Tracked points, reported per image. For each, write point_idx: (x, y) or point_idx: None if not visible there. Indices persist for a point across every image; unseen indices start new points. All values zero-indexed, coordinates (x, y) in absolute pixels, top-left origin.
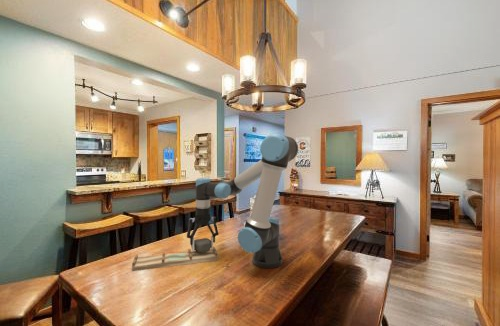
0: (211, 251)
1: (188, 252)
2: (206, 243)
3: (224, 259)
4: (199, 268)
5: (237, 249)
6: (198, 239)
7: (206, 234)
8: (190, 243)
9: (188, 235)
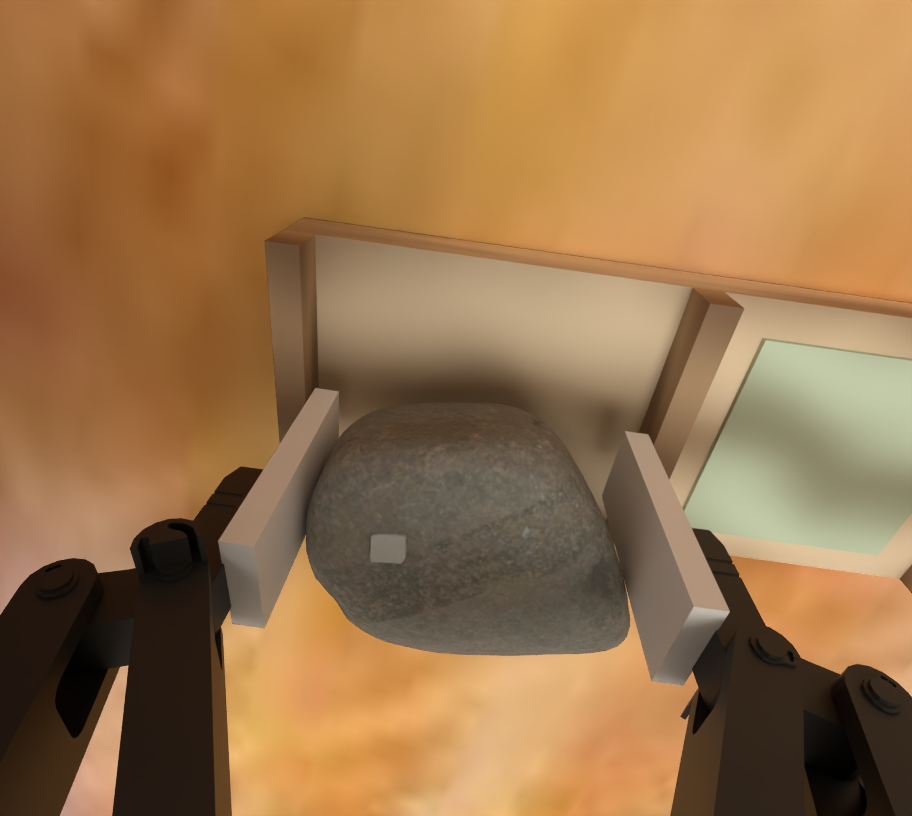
0: None
1: None
2: (417, 448)
3: (200, 209)
4: (645, 26)
5: (19, 441)
6: (532, 628)
7: (316, 802)
8: (727, 552)
9: (900, 735)
